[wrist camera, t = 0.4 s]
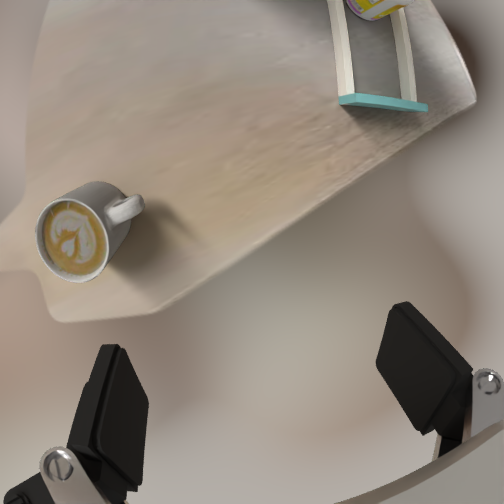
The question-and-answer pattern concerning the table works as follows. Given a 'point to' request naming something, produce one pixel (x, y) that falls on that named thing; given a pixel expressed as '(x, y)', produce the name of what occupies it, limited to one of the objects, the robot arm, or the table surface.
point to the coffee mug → (84, 230)
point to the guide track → (346, 72)
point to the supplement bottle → (376, 7)
